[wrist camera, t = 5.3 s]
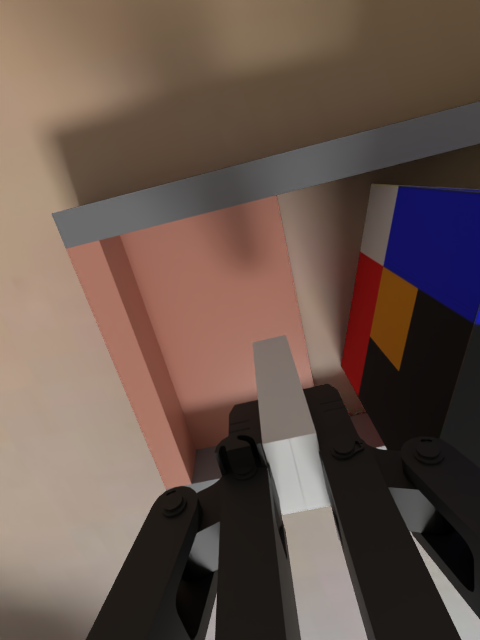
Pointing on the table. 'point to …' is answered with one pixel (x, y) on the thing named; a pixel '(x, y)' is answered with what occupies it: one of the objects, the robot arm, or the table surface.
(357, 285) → the puzzle toy
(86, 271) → the trap box
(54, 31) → the table surface
